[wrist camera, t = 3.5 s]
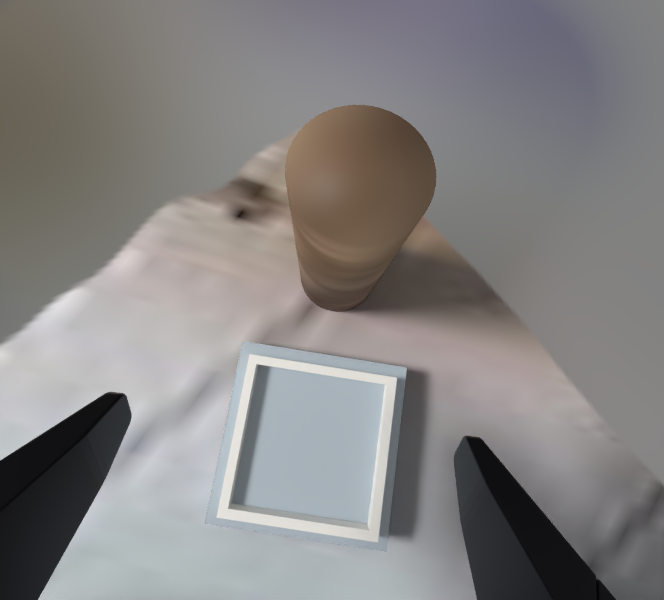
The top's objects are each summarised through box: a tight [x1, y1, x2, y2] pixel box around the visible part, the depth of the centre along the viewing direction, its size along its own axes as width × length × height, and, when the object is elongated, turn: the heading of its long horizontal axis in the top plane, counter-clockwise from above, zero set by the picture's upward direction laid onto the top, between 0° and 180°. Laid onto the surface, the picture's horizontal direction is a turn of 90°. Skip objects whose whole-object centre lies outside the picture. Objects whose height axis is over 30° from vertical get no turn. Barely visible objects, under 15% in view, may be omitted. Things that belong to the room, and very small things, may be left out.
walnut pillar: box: [285, 105, 436, 311], centre depth 18 cm, size 5×5×13 cm
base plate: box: [205, 341, 407, 552], centre depth 21 cm, size 10×10×3 cm
